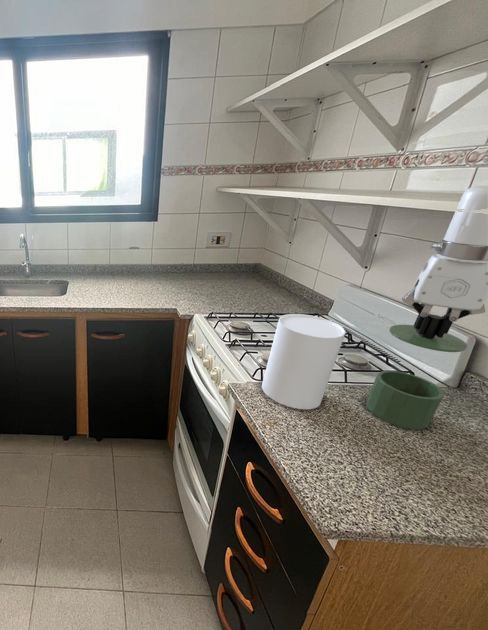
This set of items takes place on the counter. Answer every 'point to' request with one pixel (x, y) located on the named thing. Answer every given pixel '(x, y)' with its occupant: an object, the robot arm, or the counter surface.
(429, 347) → the tin lid
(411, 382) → the tin
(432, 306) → the robot arm
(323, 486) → the counter surface
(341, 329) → the canister
